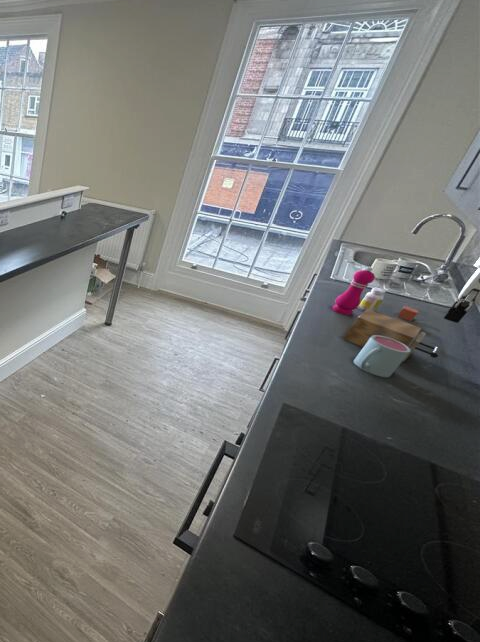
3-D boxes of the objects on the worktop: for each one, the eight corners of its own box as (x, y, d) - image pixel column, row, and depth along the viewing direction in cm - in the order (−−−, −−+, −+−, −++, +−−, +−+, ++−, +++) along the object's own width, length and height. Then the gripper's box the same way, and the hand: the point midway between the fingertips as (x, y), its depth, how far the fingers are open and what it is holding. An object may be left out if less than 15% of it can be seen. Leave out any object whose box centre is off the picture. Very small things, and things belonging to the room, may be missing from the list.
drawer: (432, 360, 134) (448, 341, 130) (426, 370, 128) (443, 351, 124) (362, 333, 147) (375, 315, 143) (353, 341, 141) (367, 322, 137)
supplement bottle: (371, 310, 168) (386, 289, 163) (375, 315, 164) (390, 294, 159) (355, 306, 170) (369, 285, 165) (358, 311, 166) (373, 290, 161)
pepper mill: (343, 317, 159) (374, 271, 149) (325, 308, 165) (353, 263, 155) (356, 316, 161) (387, 270, 151) (337, 307, 167) (366, 263, 157)
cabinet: (403, 351, 140) (421, 328, 135) (395, 361, 133) (414, 338, 128) (352, 331, 150) (367, 309, 145) (342, 340, 143) (358, 317, 138)
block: (412, 319, 163) (419, 310, 161) (410, 322, 161) (417, 313, 159) (398, 315, 166) (405, 305, 164) (395, 317, 164) (402, 308, 162)
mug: (362, 358, 133) (381, 333, 128) (396, 375, 126) (417, 349, 121) (338, 364, 128) (356, 339, 123) (371, 383, 121) (391, 356, 116)
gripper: (513, 275, 108) (465, 330, 118) (516, 265, 118) (472, 316, 127) (473, 265, 113) (431, 318, 123) (480, 256, 123) (440, 305, 132)
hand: (452, 317), depth 125 cm, fingers open, 7 cm apart
